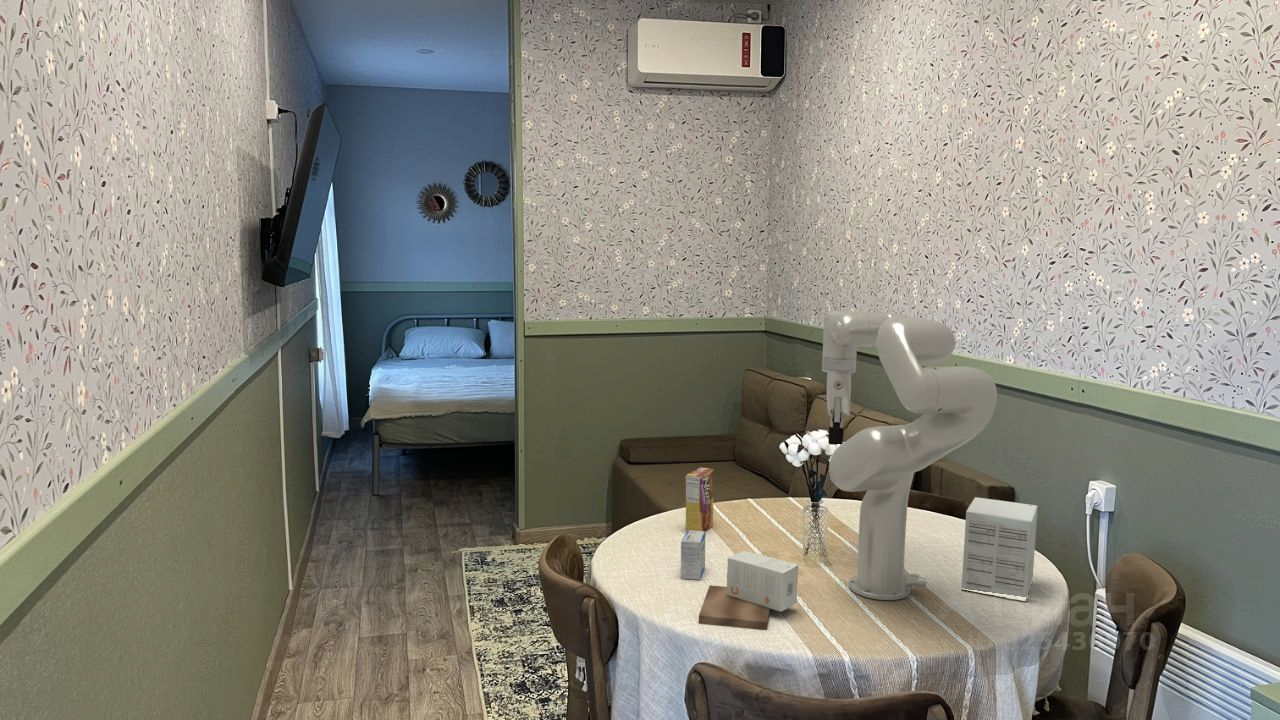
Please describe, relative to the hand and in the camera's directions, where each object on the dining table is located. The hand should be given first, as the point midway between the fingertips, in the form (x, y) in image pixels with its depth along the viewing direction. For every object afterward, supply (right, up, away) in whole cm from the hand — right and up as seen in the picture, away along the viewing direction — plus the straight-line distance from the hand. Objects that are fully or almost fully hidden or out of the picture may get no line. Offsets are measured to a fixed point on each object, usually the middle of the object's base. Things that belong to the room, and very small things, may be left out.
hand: (835, 443), depth 207 cm
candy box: (-30, -24, +23) cm, 45 cm away
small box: (-15, -26, -31) cm, 43 cm away
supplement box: (+32, -30, -13) cm, 46 cm away
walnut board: (-26, -31, -28) cm, 49 cm away
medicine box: (-33, -28, -8) cm, 44 cm away
